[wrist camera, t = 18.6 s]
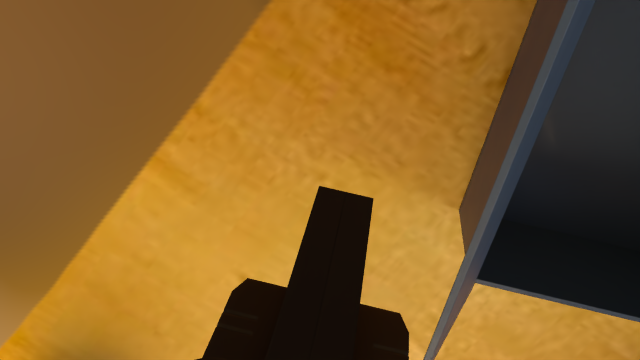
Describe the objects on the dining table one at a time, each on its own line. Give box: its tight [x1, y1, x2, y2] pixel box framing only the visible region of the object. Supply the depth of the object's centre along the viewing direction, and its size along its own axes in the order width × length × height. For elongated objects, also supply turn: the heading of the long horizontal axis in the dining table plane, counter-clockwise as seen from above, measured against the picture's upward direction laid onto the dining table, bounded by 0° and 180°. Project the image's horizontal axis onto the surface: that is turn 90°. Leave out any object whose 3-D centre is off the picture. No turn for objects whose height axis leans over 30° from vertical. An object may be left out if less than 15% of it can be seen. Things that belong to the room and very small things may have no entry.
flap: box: [423, 0, 595, 360], centre depth 20 cm, size 18×7×1 cm
